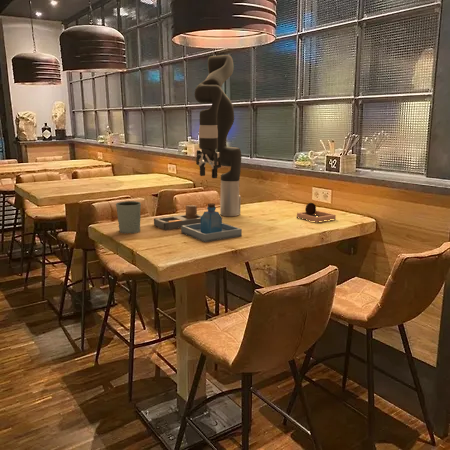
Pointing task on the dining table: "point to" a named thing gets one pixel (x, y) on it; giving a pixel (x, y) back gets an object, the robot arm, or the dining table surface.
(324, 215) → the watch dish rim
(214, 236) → the tray
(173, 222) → the slot holder
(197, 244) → the dining table surface
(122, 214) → the grey cup
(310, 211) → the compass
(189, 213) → the walnut peg
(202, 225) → the perfume bottle
